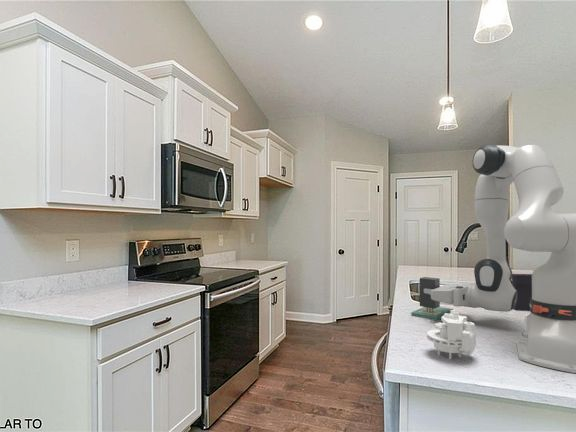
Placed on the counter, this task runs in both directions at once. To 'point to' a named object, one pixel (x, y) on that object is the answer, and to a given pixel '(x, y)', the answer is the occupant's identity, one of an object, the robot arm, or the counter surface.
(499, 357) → the counter surface
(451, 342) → the mechanical part
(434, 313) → the header board
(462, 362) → the counter surface
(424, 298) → the plug housing
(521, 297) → the calculator
